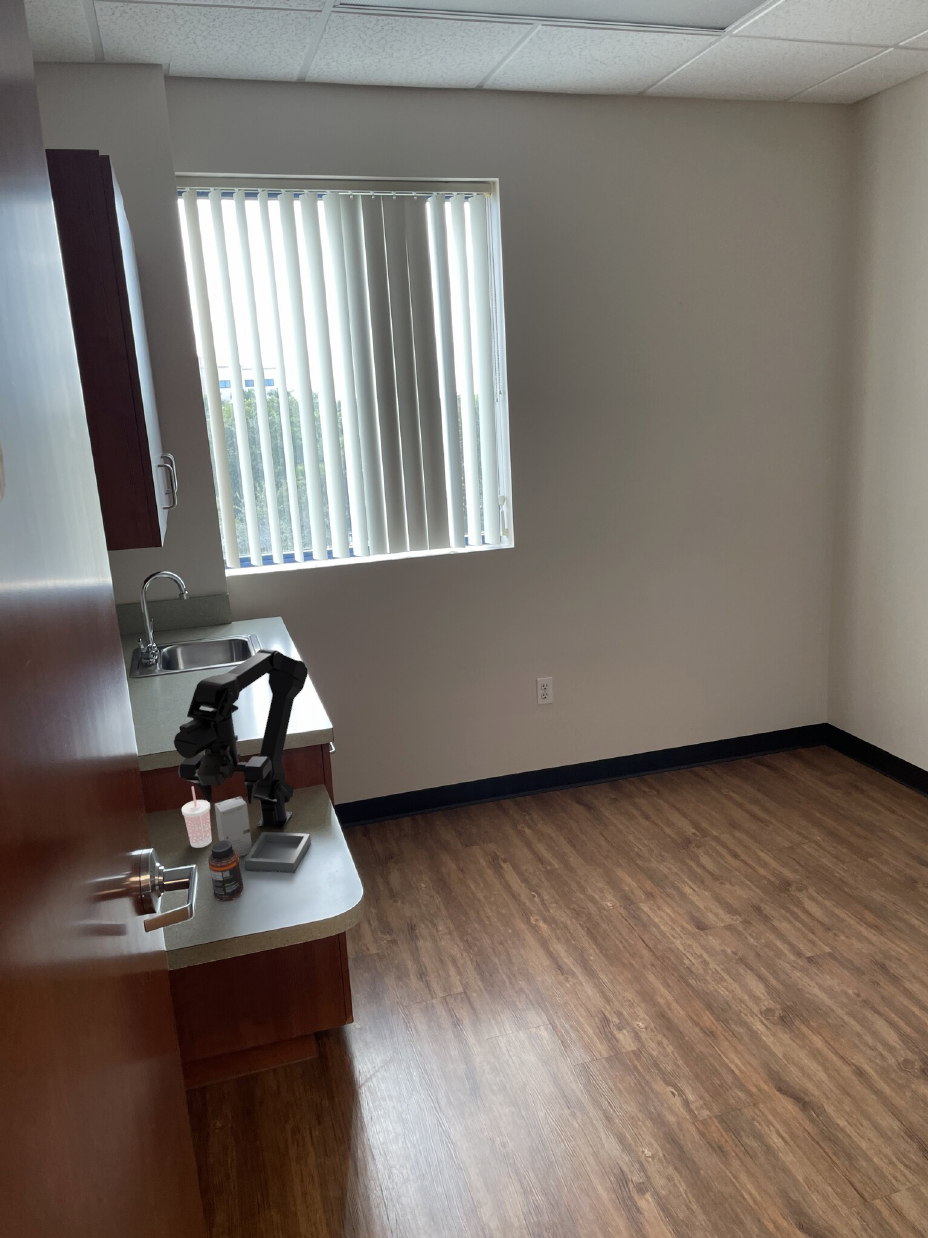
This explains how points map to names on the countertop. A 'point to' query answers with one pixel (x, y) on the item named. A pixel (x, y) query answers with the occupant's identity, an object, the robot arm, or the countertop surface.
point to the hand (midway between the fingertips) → (230, 802)
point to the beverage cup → (198, 821)
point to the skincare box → (234, 824)
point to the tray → (277, 852)
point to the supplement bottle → (225, 871)
